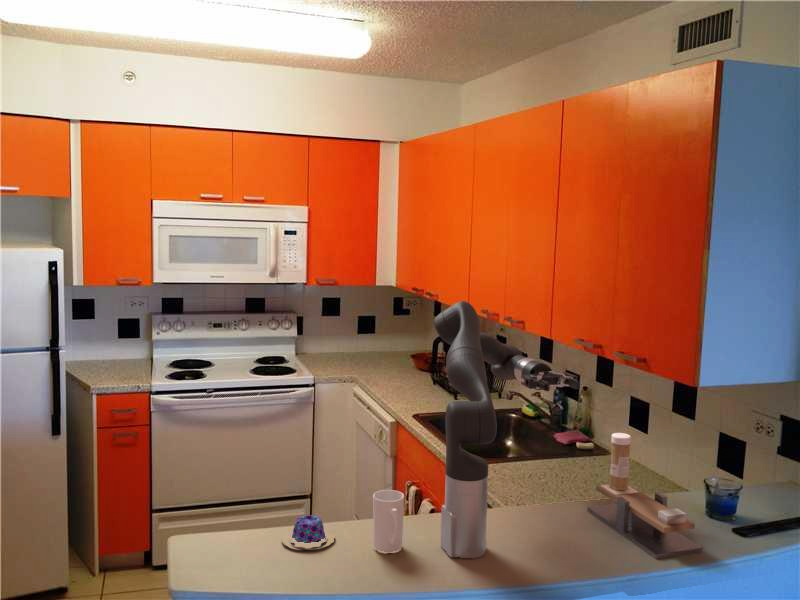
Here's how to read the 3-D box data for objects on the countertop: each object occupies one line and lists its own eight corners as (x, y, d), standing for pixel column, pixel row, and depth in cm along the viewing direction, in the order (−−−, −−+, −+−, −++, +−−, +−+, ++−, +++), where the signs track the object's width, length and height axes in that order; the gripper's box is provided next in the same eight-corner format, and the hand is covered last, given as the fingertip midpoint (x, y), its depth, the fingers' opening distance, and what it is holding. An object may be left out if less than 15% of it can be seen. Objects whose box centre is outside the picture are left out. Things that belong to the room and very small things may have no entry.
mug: (369, 542, 161) (369, 491, 160) (398, 539, 163) (399, 488, 161) (380, 563, 151) (381, 508, 150) (411, 559, 153) (412, 505, 152)
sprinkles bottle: (606, 484, 180) (608, 432, 178) (623, 484, 180) (626, 431, 179) (613, 491, 175) (616, 437, 174) (631, 491, 176) (634, 437, 174)
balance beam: (662, 533, 156) (663, 518, 155) (595, 489, 180) (595, 477, 180) (695, 528, 158) (695, 514, 158) (624, 486, 183) (624, 474, 182)
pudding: (345, 545, 160) (345, 523, 159) (295, 559, 153) (295, 535, 153) (320, 526, 170) (320, 505, 169) (272, 538, 163) (272, 516, 163)
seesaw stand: (656, 559, 155) (657, 523, 154) (586, 510, 181) (588, 479, 180) (701, 551, 159) (704, 517, 158) (627, 505, 184) (629, 475, 183)
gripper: (510, 361, 197) (539, 373, 182) (556, 358, 202) (588, 370, 186) (509, 388, 198) (537, 402, 183) (555, 385, 202) (586, 399, 187)
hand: (563, 386), depth 185 cm, fingers open, 8 cm apart
